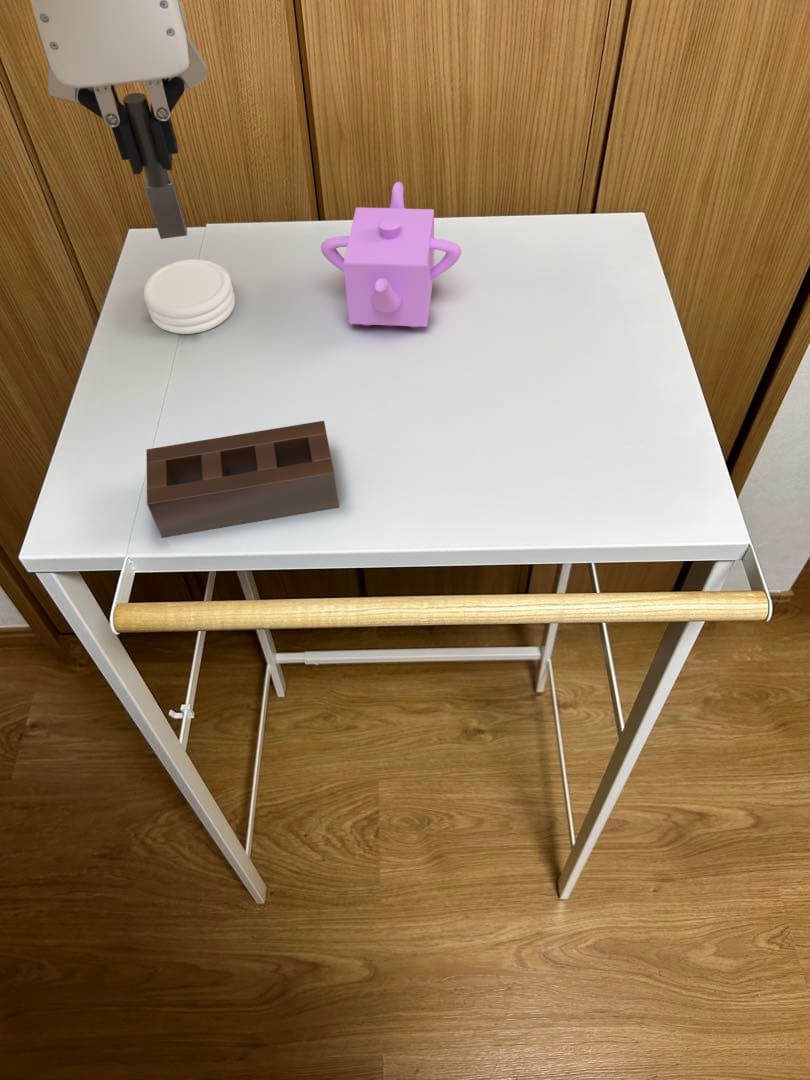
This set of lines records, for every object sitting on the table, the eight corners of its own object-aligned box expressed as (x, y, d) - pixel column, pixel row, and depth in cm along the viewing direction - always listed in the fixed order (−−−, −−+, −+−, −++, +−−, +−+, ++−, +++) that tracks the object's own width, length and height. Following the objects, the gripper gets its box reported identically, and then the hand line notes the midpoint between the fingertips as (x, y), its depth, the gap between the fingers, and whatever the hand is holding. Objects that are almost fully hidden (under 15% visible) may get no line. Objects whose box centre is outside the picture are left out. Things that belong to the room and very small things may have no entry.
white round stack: (228, 275, 101) (222, 250, 98) (242, 325, 96) (236, 300, 93) (146, 291, 100) (138, 266, 97) (155, 344, 94) (146, 319, 91)
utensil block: (339, 507, 79) (334, 472, 75) (161, 537, 78) (146, 504, 74) (329, 455, 83) (323, 420, 79) (160, 483, 82) (146, 449, 78)
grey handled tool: (187, 238, 74) (149, 101, 64) (160, 242, 74) (118, 105, 64) (187, 227, 75) (150, 90, 66) (160, 230, 75) (119, 94, 65)
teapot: (479, 316, 95) (483, 231, 86) (383, 365, 91) (377, 281, 82) (402, 253, 103) (399, 170, 94) (310, 295, 98) (298, 212, 90)
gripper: (194, -135, 57) (245, 129, 72) (-41, -112, 56) (60, 152, 71) (198, -98, 53) (251, 175, 68) (-58, -72, 52) (53, 201, 66)
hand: (152, 162), depth 69 cm, fingers closed on grey handled tool, 1 cm apart
